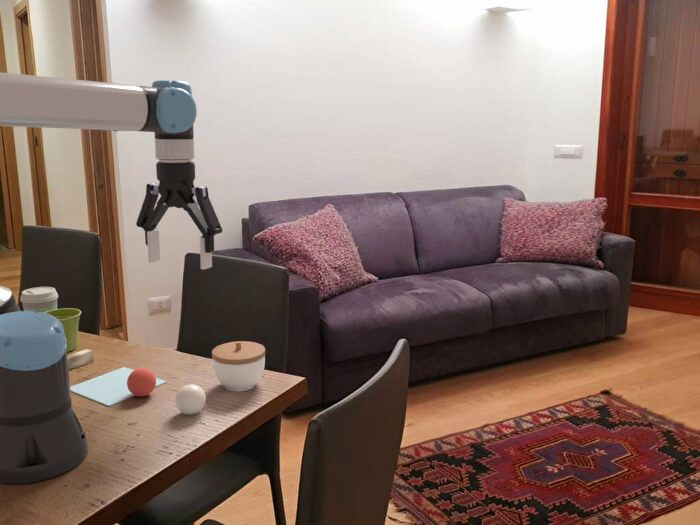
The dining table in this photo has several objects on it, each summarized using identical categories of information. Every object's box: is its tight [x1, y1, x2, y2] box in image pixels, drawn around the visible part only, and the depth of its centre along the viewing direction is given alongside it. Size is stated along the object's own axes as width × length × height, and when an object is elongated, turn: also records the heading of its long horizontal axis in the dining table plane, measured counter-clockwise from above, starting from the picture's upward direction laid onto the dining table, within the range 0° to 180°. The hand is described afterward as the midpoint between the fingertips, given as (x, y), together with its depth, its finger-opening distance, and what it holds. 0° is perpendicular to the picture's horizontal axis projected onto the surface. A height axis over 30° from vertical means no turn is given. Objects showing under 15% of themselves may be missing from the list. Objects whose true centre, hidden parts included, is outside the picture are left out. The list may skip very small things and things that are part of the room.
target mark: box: [70, 366, 168, 407], centre depth 136 cm, size 14×14×1 cm
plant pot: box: [44, 307, 82, 353], centre depth 156 cm, size 9×9×9 cm
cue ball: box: [175, 383, 207, 415], centre depth 123 cm, size 6×6×6 cm
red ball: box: [127, 367, 157, 397], centre depth 131 cm, size 6×6×6 cm
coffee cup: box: [19, 286, 59, 313], centre depth 164 cm, size 8×8×12 cm
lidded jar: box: [211, 340, 266, 393], centre depth 135 cm, size 11×11×9 cm
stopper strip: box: [67, 348, 95, 370], centre depth 145 cm, size 11×2×2 cm, turn 145°
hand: (179, 264), depth 137 cm, fingers open, 13 cm apart
